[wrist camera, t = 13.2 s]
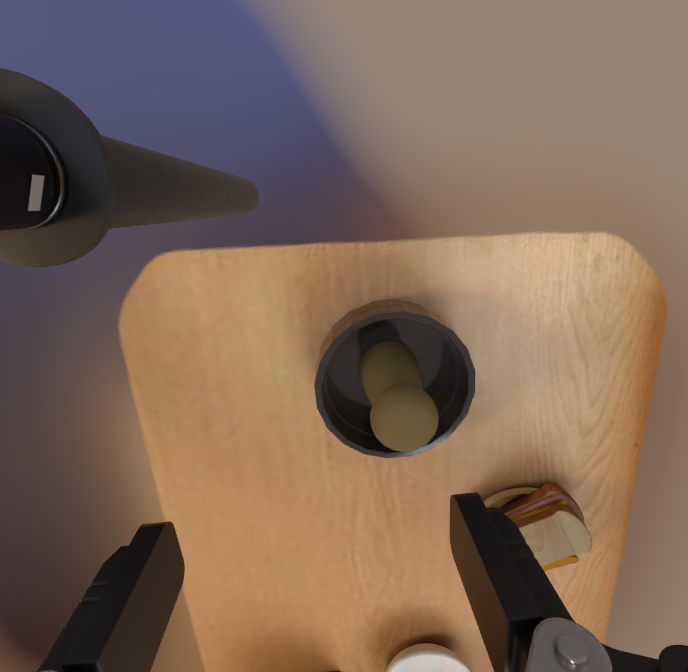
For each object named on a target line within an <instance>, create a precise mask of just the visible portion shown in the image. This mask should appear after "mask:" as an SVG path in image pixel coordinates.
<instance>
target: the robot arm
mask: <svg viewBox="0 0 688 672" xmlns="http://www.w3.org/2000/svg"><path fill="white" fill-rule="evenodd" d="M68 193H69V181H68V175H67V170H66V167H65V164H64V162H63V160H62V158H61V156H60V154H59V152H58V151H57V149H56V147H55V146H54V145H53V143H52V142H51V141H50V140H49V139H48V138H47V137H46V136H45V135H44V134H43V133H42V132H41V131H39V130H38V129H37V128H35V127H34V126H32V125H31V124H29V123H27V122H25V121H23V120H21V119H18V118H15V117H11V116H8V115H4V114H0V230H29V229H37V228H41V227H44V226H46V225H48V224H50V223H51V222H53V221H54V220H55V219H56V218H57V217H58V216H59V215H60V214H61V212H62V211H63V209H64V207H65V205H66V202H67V198H68ZM450 544H451V549H452V554H453V557H454V561H455V563H456V566H457V569H458V572H459V575H460V577H461V580H462V583H463V586H464V588H465V591H466V594H467V597H468V600H469V602H470V605H471V608H472V611H473V613H474V616H475V619H476V622H477V625H478V627H479V630H480V633H481V636H482V638H483V641H484V644H485V647H486V650H487V652H488V655H489V658H490V661H491V663H492V666H493V669H494V672H688V646H685V645H671V646H668V647H666V648H665V649H663V650H662V652H661V653H660V656H659V659H653V658H649V657H645V656H641V655H636V654H632V653H628V652H624V651H619V650H616V649H613V648H611V647H608V646H606V645H604V644H602V643H600V641H599V640H598V639H597V638H596V637H595V636H594V635H593V634H592V633H591V632H589V631H588V630H587V629H585V628H584V627H583V626H581V625H579V624H577V623H576V622H575V621H574V620H573V619H572V617H571V616H570V614H569V613H568V611H567V609H566V608H565V606H564V604H563V603H562V601H561V599H560V598H559V596H558V594H557V592H556V591H555V589H554V587H553V586H552V584H551V582H550V581H549V579H548V577H547V576H546V574H545V572H544V570H543V569H542V567H541V565H540V564H539V562H538V560H537V559H535V557H534V554H533V552H532V550H531V549H530V547H529V545H528V544H526V540H525V538H524V537H523V535H522V533H521V532H520V530H519V528H518V527H517V525H516V523H514V522H513V521H512V520H511V519H510V518H509V517H507V516H506V515H505V514H504V513H503V512H502V511H500V510H497V511H488V510H487V508H486V506H485V504H484V502H483V500H482V499H481V497H480V495H479V494H478V493H466V494H456V495H451V497H450ZM184 569H185V568H184V560H183V556H182V553H181V549H180V546H179V542H178V538H177V535H176V531H175V528H174V525H173V523H172V522H161V523H150V524H143V525H142V526H140V527H139V529H138V530H137V532H136V534H135V536H134V537H133V539H132V541H131V543H130V545H129V546H122V547H120V548H119V549H118V550H117V551H116V552H115V553H114V554H113V555H112V556H111V557H110V558H109V559H108V560H107V561H106V562H105V563H104V564H103V565H102V567H101V568H100V570H99V572H98V573H97V575H96V577H95V578H94V580H93V581H92V586H91V587H89V588H88V590H87V591H86V593H85V595H84V596H83V598H82V602H81V603H79V604H78V606H77V608H76V609H75V611H74V612H73V614H72V616H71V617H70V619H69V621H68V622H67V624H66V626H65V627H64V629H63V630H62V632H61V634H60V635H59V637H58V639H57V640H56V642H55V644H54V645H53V647H52V648H51V650H50V652H49V653H48V655H47V657H46V658H45V660H44V662H43V663H42V665H41V666H40V668H39V669H38V671H37V672H150V670H151V668H152V665H153V662H154V659H155V657H156V654H157V651H158V648H159V646H160V643H161V641H162V638H163V635H164V633H165V630H166V627H167V625H168V622H169V619H170V617H171V614H172V611H173V609H174V606H175V603H176V600H177V598H178V595H179V592H180V590H181V587H182V584H183V579H184Z"/></svg>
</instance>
